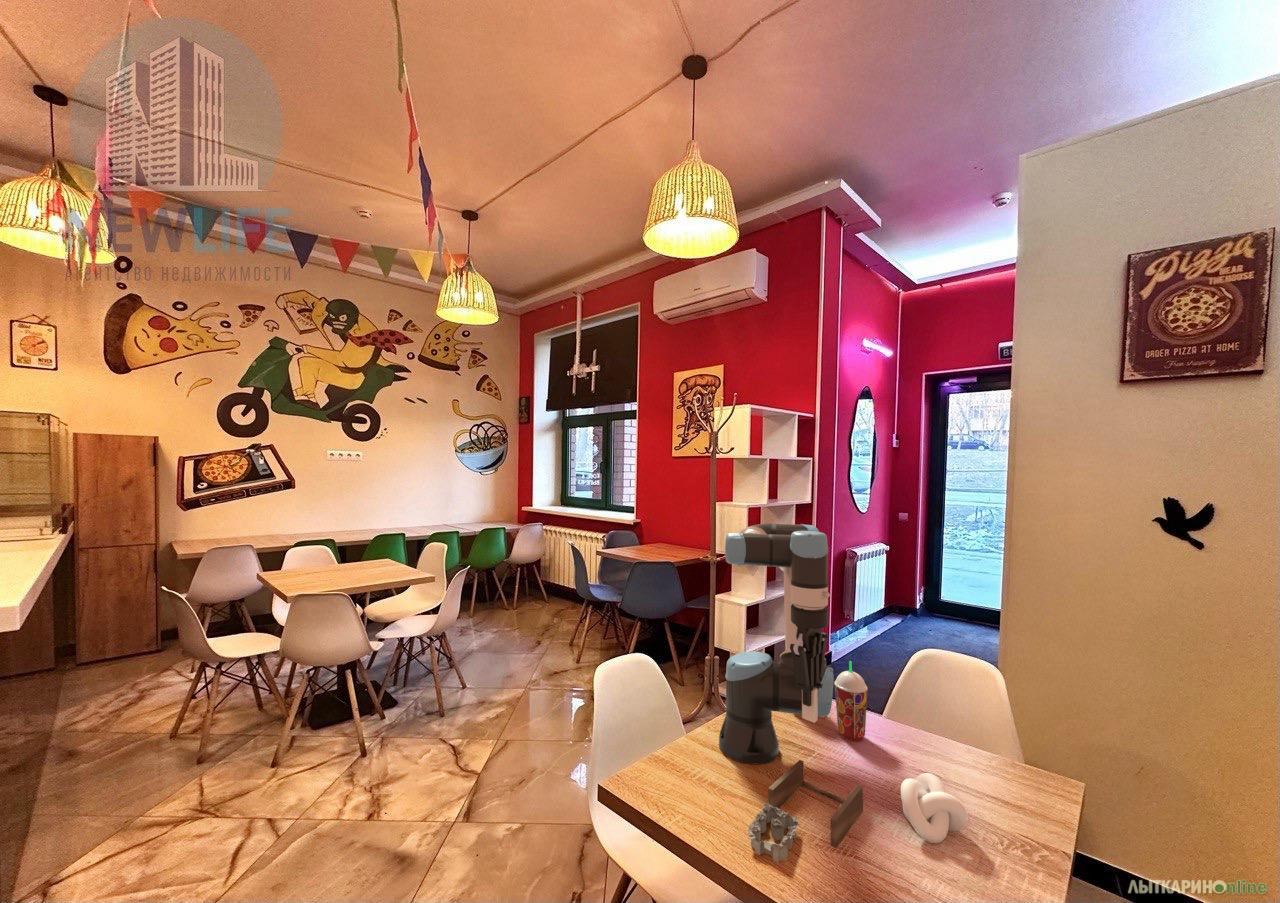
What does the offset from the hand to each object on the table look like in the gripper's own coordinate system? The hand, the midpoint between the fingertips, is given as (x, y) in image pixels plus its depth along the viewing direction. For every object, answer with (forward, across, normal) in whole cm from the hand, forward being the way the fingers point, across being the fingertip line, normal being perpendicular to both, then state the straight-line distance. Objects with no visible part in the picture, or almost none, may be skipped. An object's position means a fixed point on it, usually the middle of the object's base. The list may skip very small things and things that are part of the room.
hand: (809, 719), depth 102 cm
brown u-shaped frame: (+19, +1, -1) cm, 19 cm away
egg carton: (+20, -12, +2) cm, 23 cm away
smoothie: (+20, +38, +6) cm, 43 cm away
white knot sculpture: (+20, +14, -18) cm, 30 cm away
